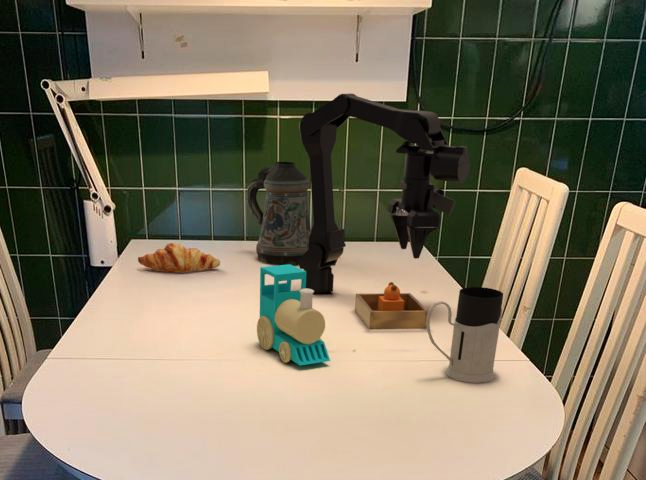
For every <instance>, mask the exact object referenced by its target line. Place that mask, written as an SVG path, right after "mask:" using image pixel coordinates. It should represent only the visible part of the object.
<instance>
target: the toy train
mask: <svg viewBox="0 0 646 480" xmlns="http://www.w3.org/2000/svg"><path fill="white" fill-rule="evenodd" d="M259 270H260V271H259V318H258V320H257V324H256V335H257V340H258V342H259V345H260V347H261V348H262V349H263V350H266V351H267V350H271V349H274V350H275V351H276V352H278V353H279V357H280V359H281V361H282V362H283V363H285V364H286V363H289V362H290V361H292V362H294V363H295V364H296V365H298V366H306V365H311V364H313V365H314V364H319V363H326V362H331V359H330V355H329V353H328V352H329V351H328V349H327V346H326V343H325V341H324V340H323V339H322V338H321V337H322V336H323V334H324V332H325V329H326V319H325V316H324V315H323V314H322V313H321V312H320V310H317V309H316V308H313V297H314V295H313V293H314V290H312V289H307V288H306V271H304V269H300V267H297V266H296V265H295V266H293V265H291V264H288V265H269V266H260V269H259ZM266 275H268V276H270V277H272V278H273V284H265V283H266ZM296 280H297V281H298V280H301V282H300V289H299V290H292V281H296ZM280 282H281V283H280Z"/></svg>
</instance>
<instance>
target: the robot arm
mask: <svg viewBox="0 0 646 480" xmlns="http://www.w3.org/2000/svg"><path fill="white" fill-rule="evenodd" d="M350 117H352V118H355V119H358V120H361V121H364V122H367V123H370V124H374V125H377V126H380V127H383V128H386V129H389V130H391V131H392V132H394V133H395V134H396V135H397V137H400V138H401V139H403V140H405V141H403V142H402V144H401V145H400V146H399V147H398V148H397V149H395V153H396V154H402V155H403V154H404V155H405V156H404V165H403V167H404V168H403V178H402V180H401V181H400V180H399V187H400V188H402V189H401V198H392V199H391V200H390V201H389V202H388V207H387V212H388V213H390V214H389V217H390V219H391V222H392V225H393V227H394V230H395V234H396V237H397V240H398V244H399V246H400V249H401V250H407V248H408V245H409V244H410V250H411V253H412V257H413V259H415V260H416V259H419V258H421V257H420V256H421V254H422V252H423V250H424V249H423V248H424V246H425V244H426V242H427V240H428V236H429V235H430V234H431V233H433V232H434V231H437V230H438V228H440V227H441V225H442V217H443V216H441V215H440V214H439V212H437V211H440V212H441V213H444V214H445V215H447V216H451V214H452V211H453V209H454V207H455V204H456V201H457V200H454V199H452V198H450V197H448V196H446V192H445V190H443V189H441V188H439V187H435V185H434V184H433V183H432V182H431V180H432V177H433V178H434V181H442V182H450V183H460V184H463V183H464V182H465V181H466V180H467V178H468V176H469V172H470V168H471V163H470V158H469V154H468V147H467V146H464V145H459V146H452V145H450V144H449V143H448V140H447V138H446V136H445V134H444V133H443V131H442V129H441V121H440V118H439V116H438V114H436V113H435V112H433V111H426V110H412V109H411V110H409V109H400V108H397V107H394V106H390V105H387V104H383V103H380V102H377V101H374V100H371V99H368V98H365V97H361V96H358V95H356V94H355V93H340V94H338V95H337V96H335V98H334V99H332V100H331V101H329V102H328V103H325V104H324V105H322V106H320V107H319V108H317V109H315V110H313V112H312V111H311V112H307V113H305V114H304V115H303V116H302V118H301V119H300V120H299V123H298V129H299V134H300V135H299V136H300V139H301V144H302V146H303V148H304V150H305V152H306V154H307V155H308V160H309V162H308V163H309V174H310V175H309V176H310V177H309V178H310V189H311V206H312V220H313V224H312V227H311V232H310V235H309V241H308V250H307V251H306V252H305V253H304V254H303V255H302V256H301V257H300V258H299V259H298V263H299V265H298V266H299V267H298V268H299V269H302V270H304V271H306V288H307V289H312V290H314V293H313V296H332V295H333V292H334V280H335V279H334V278H335V275H334V273H333V267H334V266H336V264H337V262H338V259H340V258H341V256H342V255H343V253H344V248H345V247H346V246H347V245H346V242H345V228H339V227H338V225H337V223H336V220H335V219H336V218H335V204H334V186H333V170H332V167H333V166H332V153H333V150H334V147H335V144H336V142H337V134H338V133H337V132H338V131H337V130H338V128H340V127H341V126H343V125H344V124H345V123H347V121H348V119H349V118H350ZM434 209H435V210H437V211H435V210H434Z"/></svg>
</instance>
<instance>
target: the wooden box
mask: <svg viewBox="0 0 646 480" xmlns="http://www.w3.org/2000/svg"><path fill="white" fill-rule="evenodd" d="M379 296H384V292H381V293H380V292H379V293H378V292H377V293H355V297H354V298H355V300H354V301H355V302H354V311H355V312H356V314H357V315H358V316H359V318H360V319H361V320H362V322H363V323H364V325H365V326H366V327H367V329H368V330H416V329H417V330H418V329H419V330H421V329H423V330H425V329H426V330H427V314H428V310H429V309H427V308H426V307H425V306H424V305H423V304H422V303H421V302H420V301H419V300H418V299H417V298H416V297H415V296H414V295H413V294H411V293H410V292H402V293H401V292H400V297H401V298H402V299H403V300H404V310H403V311H378V300H379Z"/></svg>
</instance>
